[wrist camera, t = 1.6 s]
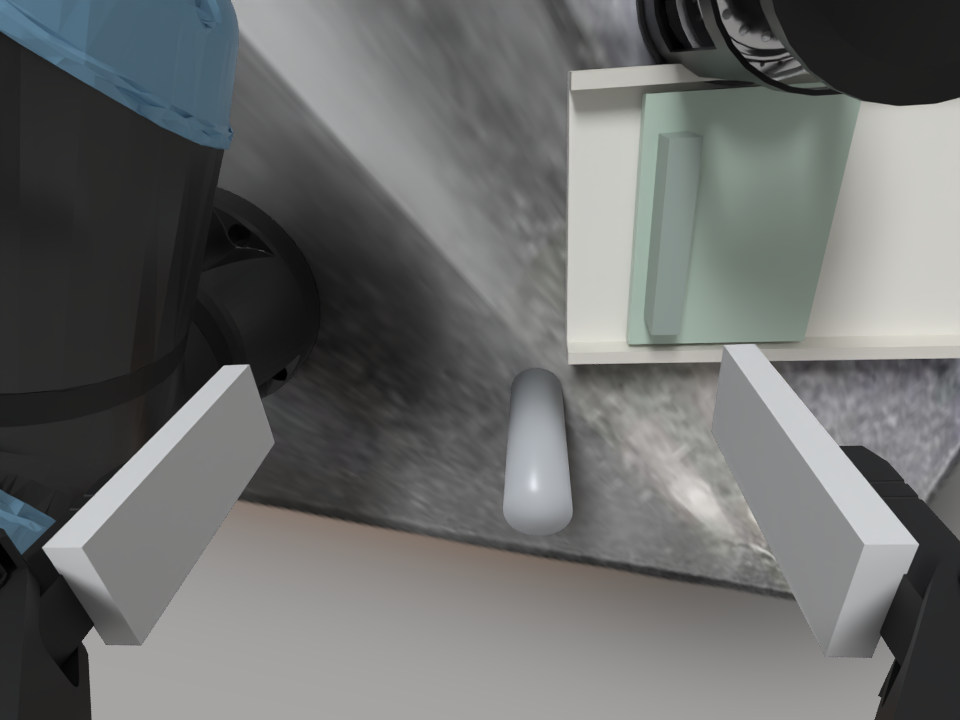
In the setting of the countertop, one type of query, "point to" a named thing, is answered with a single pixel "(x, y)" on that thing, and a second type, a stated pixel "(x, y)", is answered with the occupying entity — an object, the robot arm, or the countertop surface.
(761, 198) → the lid
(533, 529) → the pin
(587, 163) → the housing
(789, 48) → the french press
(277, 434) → the countertop surface
